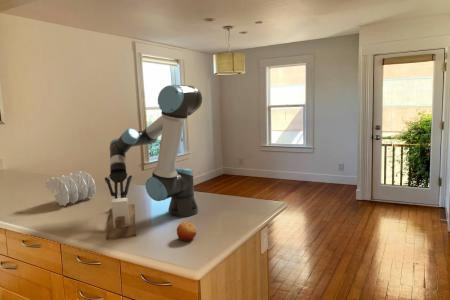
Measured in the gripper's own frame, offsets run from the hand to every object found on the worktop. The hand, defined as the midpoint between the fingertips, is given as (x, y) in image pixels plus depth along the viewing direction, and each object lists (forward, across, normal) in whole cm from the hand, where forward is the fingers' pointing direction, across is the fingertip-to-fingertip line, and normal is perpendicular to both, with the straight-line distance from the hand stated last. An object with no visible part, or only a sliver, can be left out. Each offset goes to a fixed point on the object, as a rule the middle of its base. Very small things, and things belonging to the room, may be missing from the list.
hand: (119, 207), depth 156 cm
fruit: (+25, -27, +12) cm, 39 cm away
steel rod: (-1, -1, -8) cm, 8 cm away
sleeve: (+8, -1, -2) cm, 8 cm away
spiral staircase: (-31, +28, -44) cm, 61 cm away
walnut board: (+1, 0, -12) cm, 12 cm away
